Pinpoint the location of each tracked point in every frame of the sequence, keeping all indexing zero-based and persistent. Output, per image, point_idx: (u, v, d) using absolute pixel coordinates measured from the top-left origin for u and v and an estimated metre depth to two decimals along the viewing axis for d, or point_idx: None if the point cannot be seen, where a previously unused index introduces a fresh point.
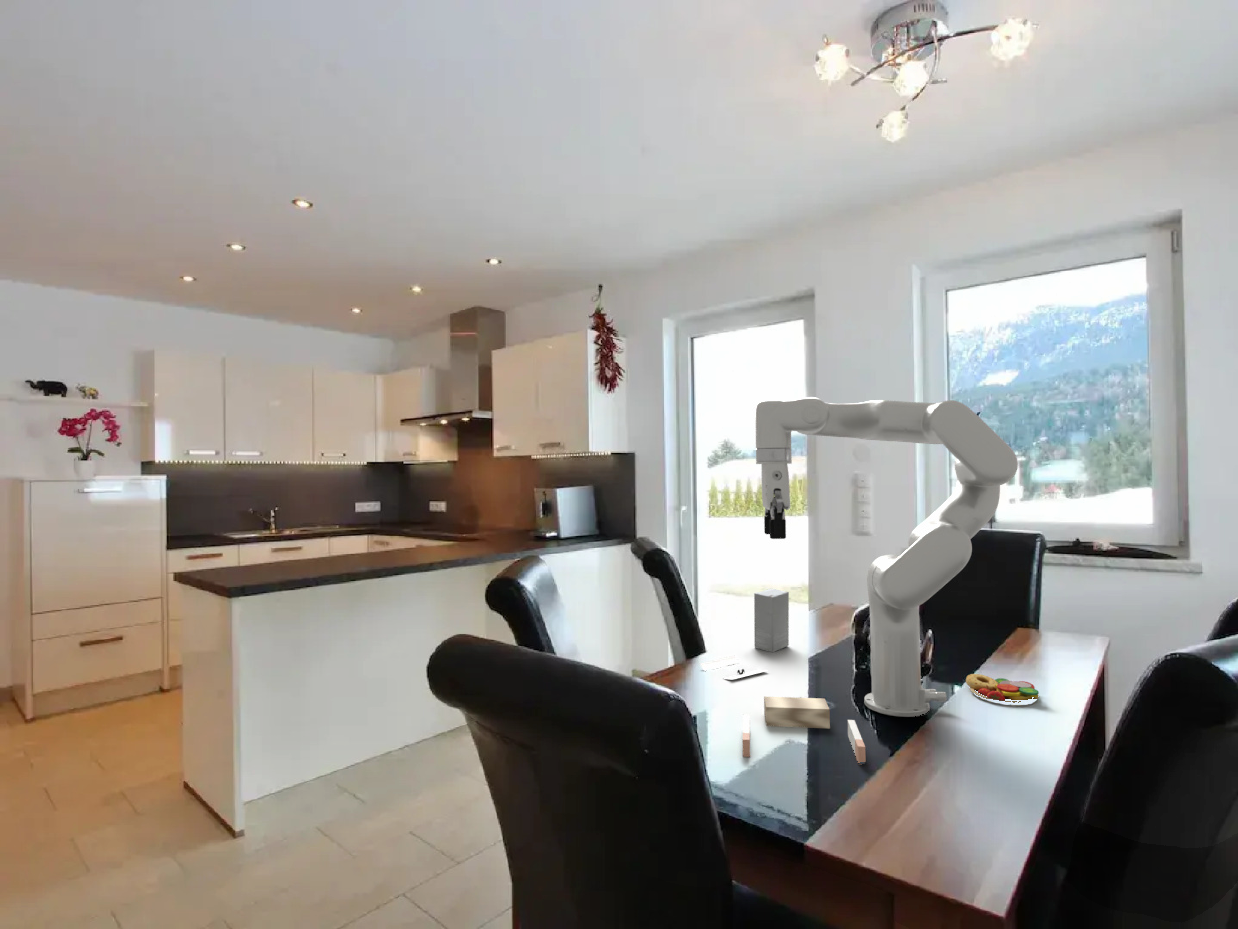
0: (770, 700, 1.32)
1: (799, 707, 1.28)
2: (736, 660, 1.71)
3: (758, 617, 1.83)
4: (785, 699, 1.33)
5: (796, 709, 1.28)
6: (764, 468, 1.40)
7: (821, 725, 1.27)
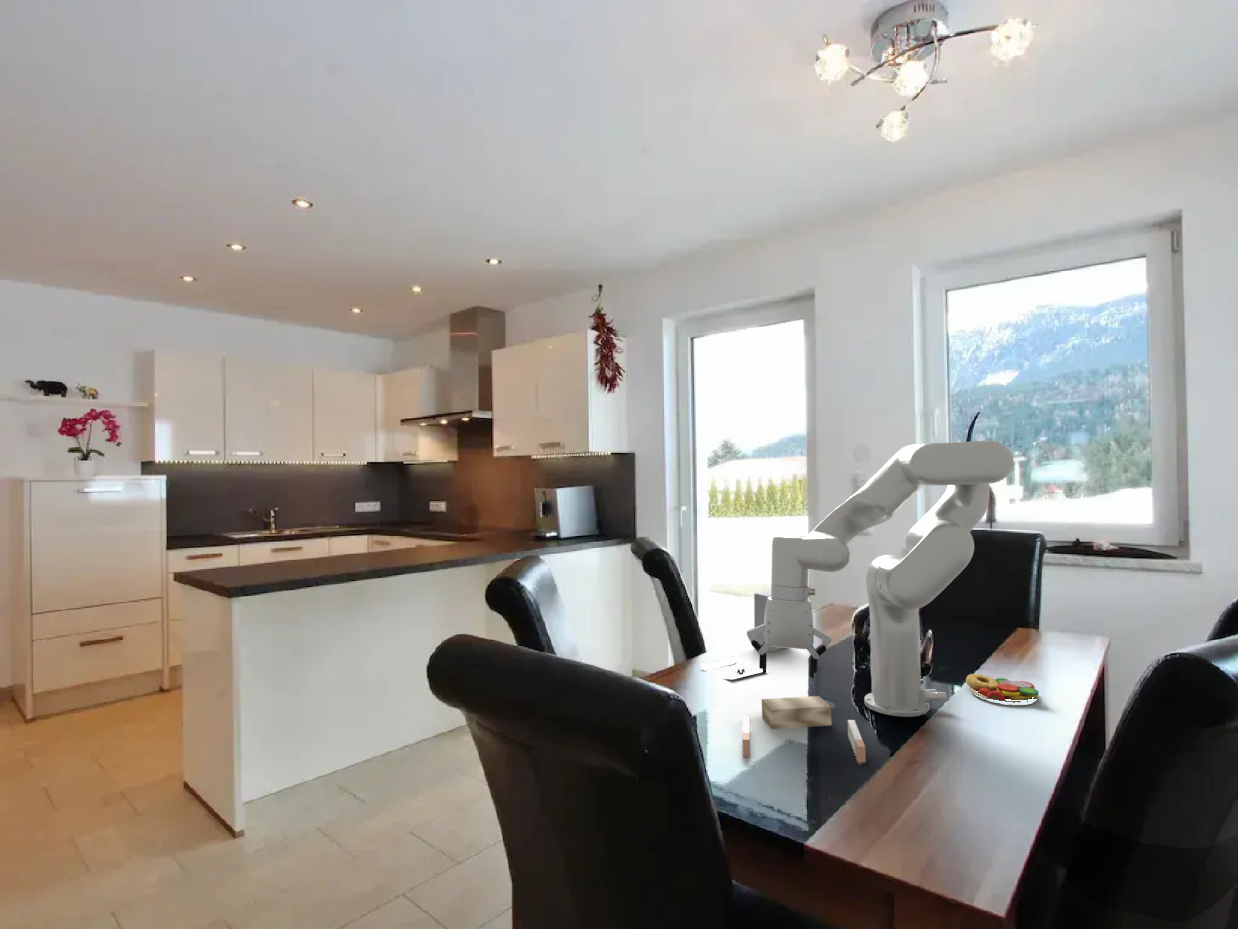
0: (770, 702, 1.31)
1: (802, 707, 1.28)
2: (736, 660, 1.71)
3: (758, 617, 1.83)
4: (783, 700, 1.32)
5: (800, 709, 1.28)
6: (802, 607, 1.36)
7: (823, 723, 1.28)
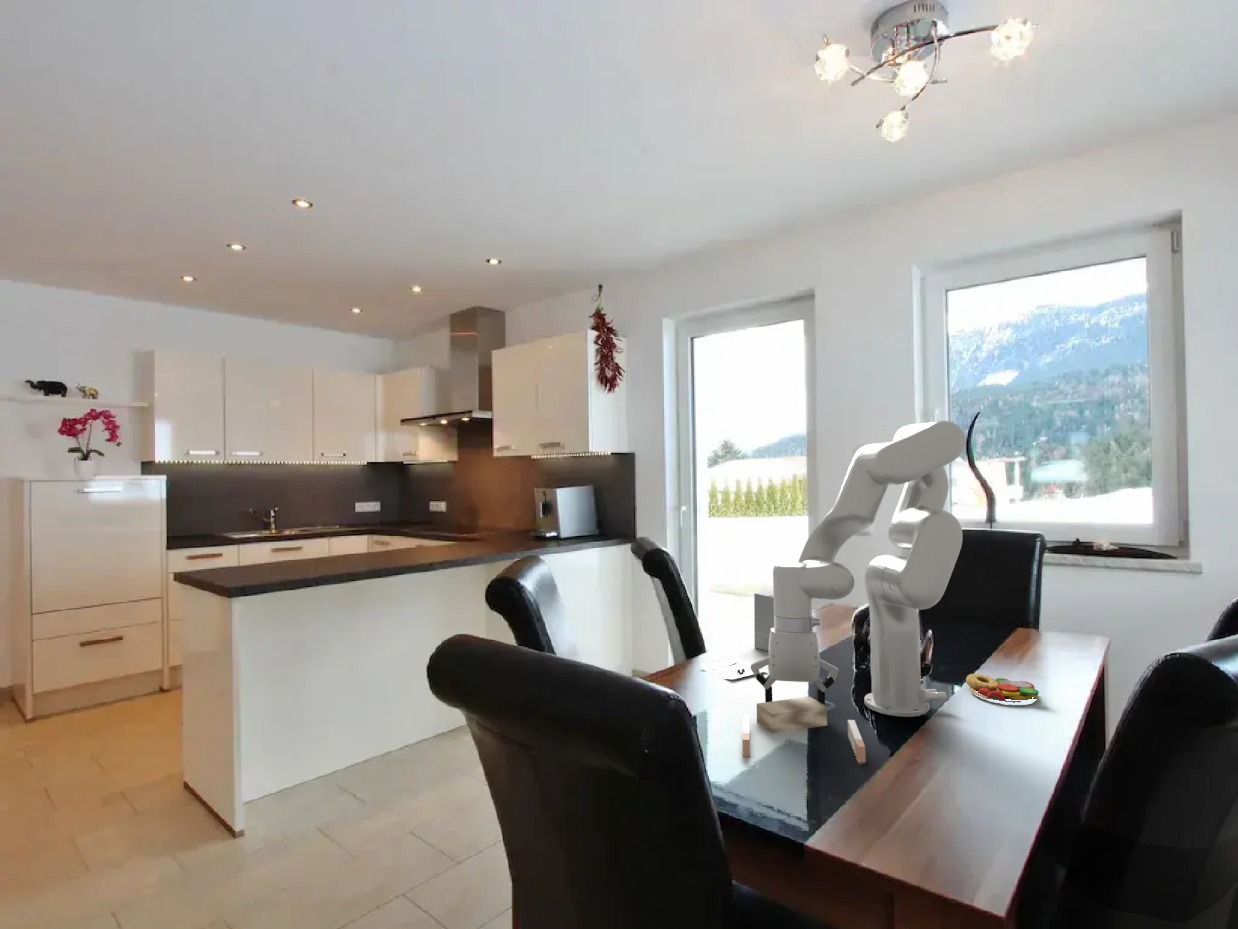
0: (766, 706, 1.29)
1: (799, 709, 1.27)
2: (736, 660, 1.71)
3: (758, 617, 1.83)
4: (778, 703, 1.31)
5: (798, 711, 1.27)
6: (807, 639, 1.31)
7: (820, 723, 1.28)
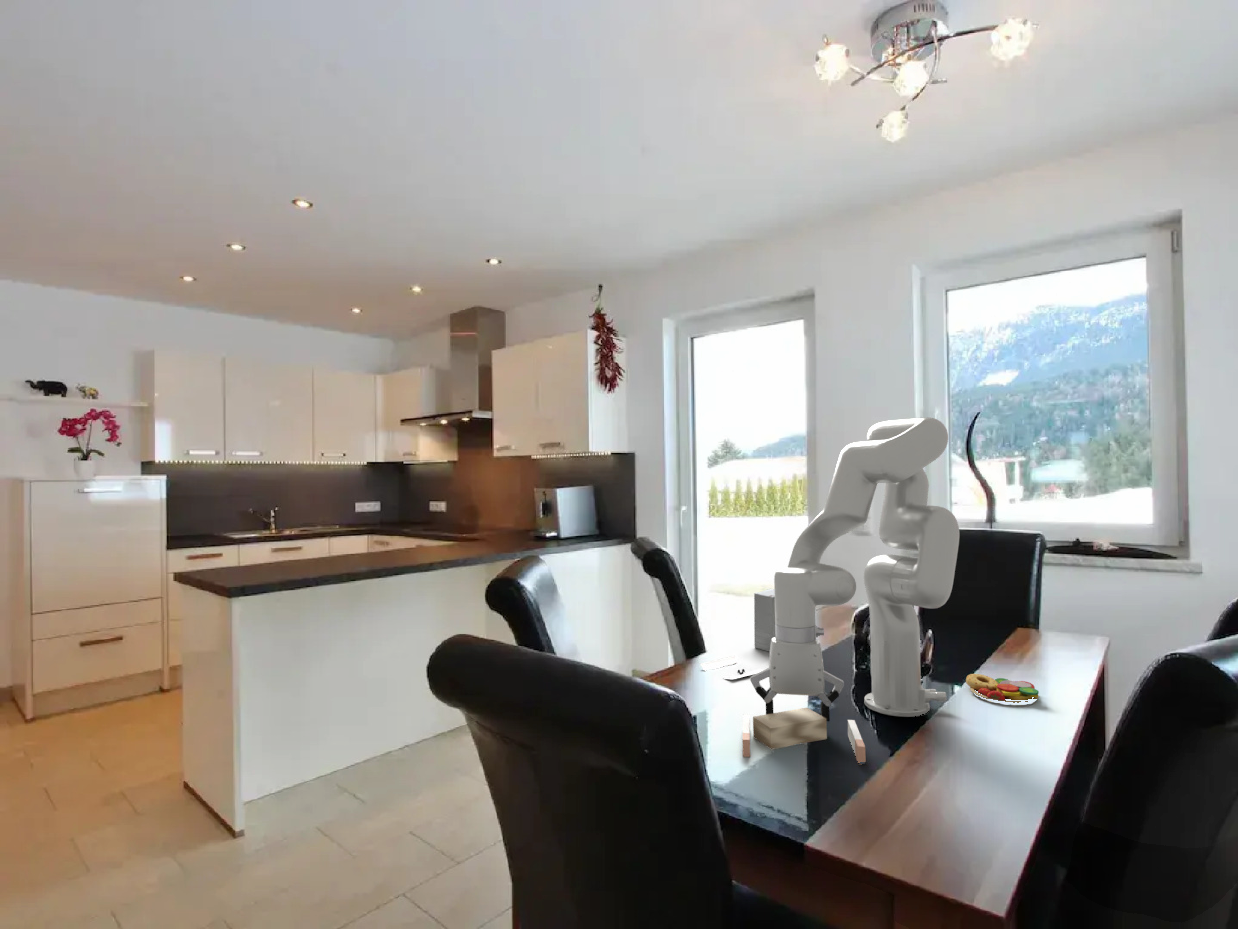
0: (763, 719, 1.22)
1: (799, 721, 1.21)
2: (736, 660, 1.71)
3: (758, 617, 1.83)
4: (776, 715, 1.24)
5: (798, 725, 1.20)
6: (810, 649, 1.23)
7: (819, 736, 1.21)
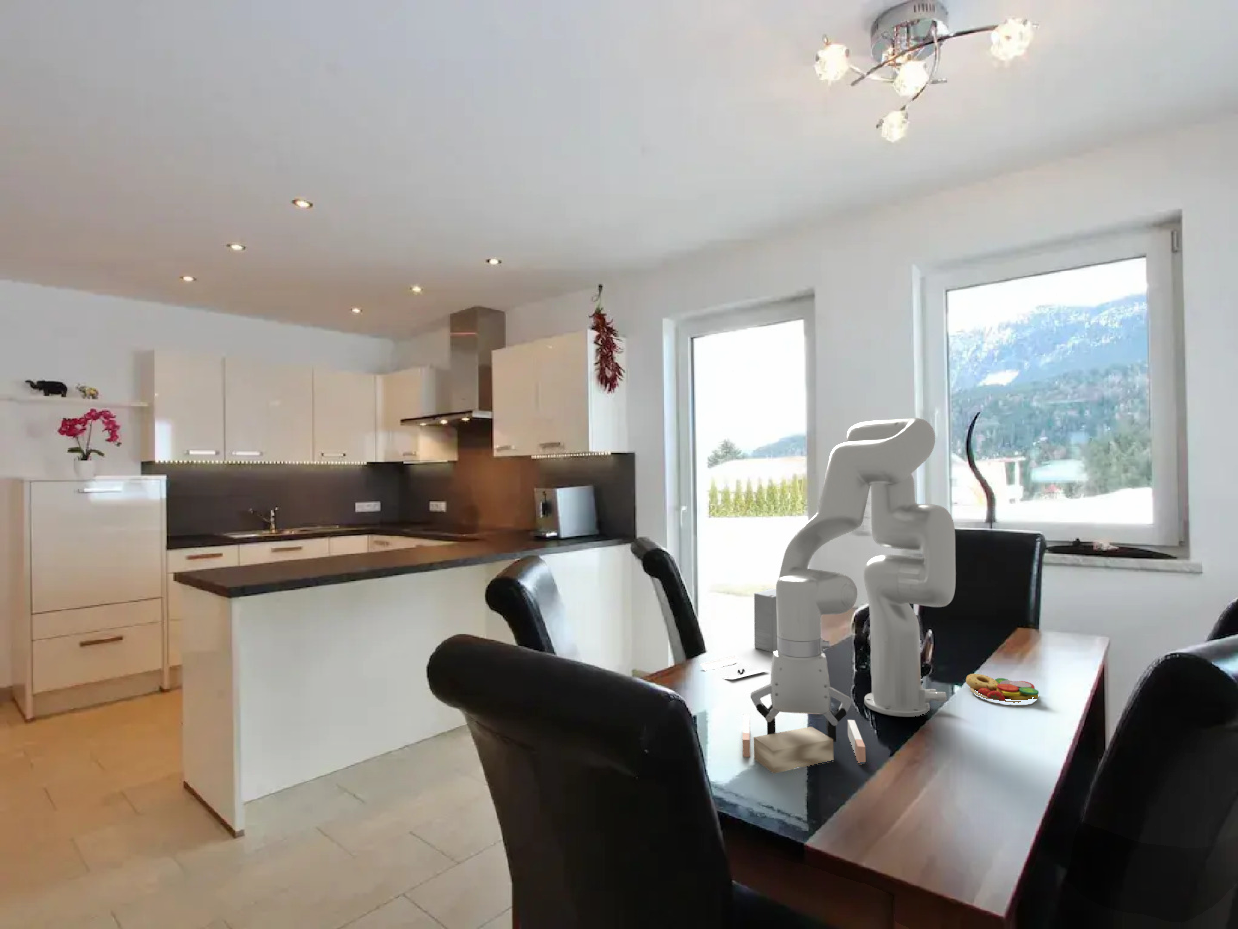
0: (765, 740, 1.13)
1: (803, 743, 1.11)
2: (736, 660, 1.71)
3: (758, 617, 1.83)
4: (778, 736, 1.14)
5: (802, 746, 1.11)
6: (815, 664, 1.14)
7: (825, 759, 1.12)
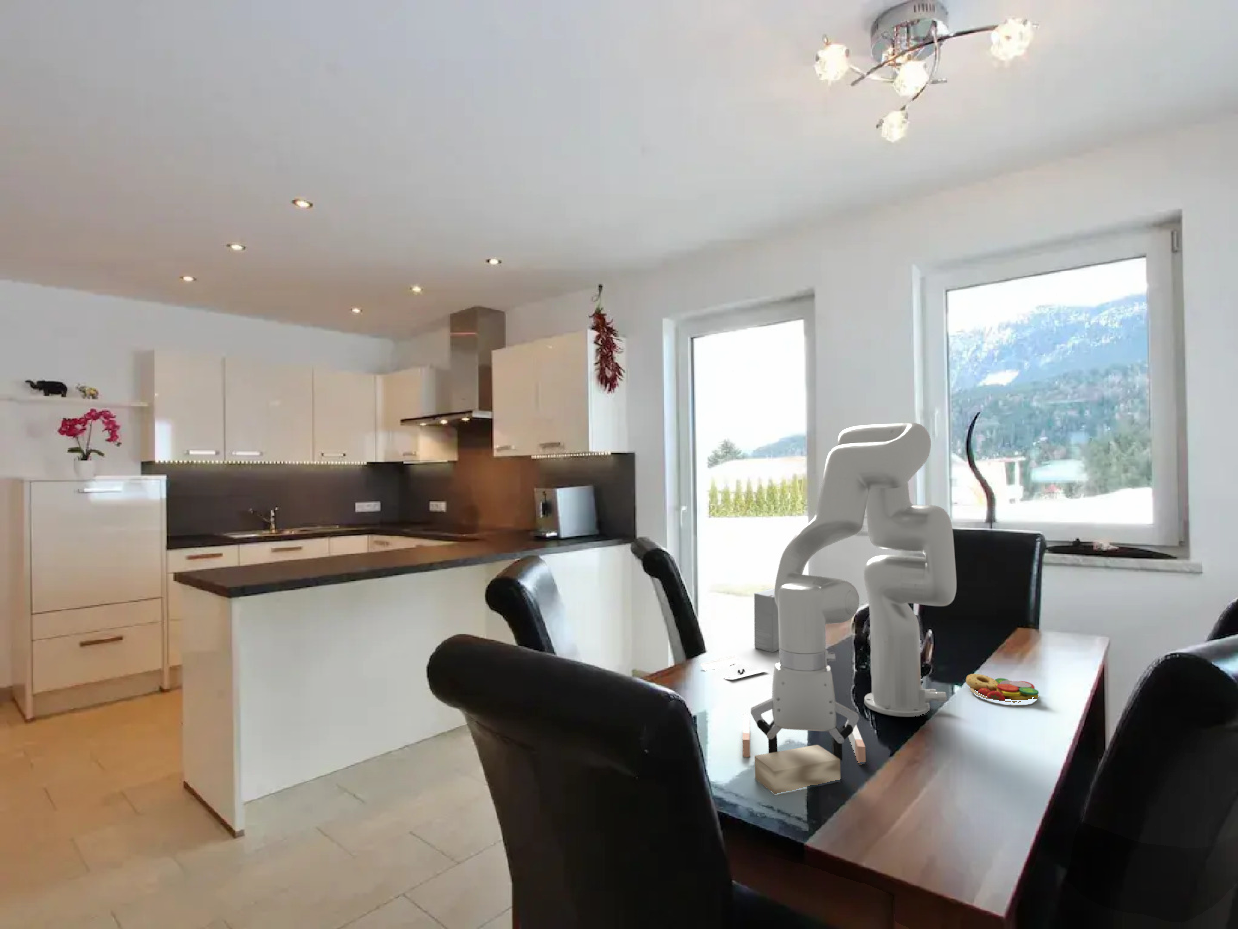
0: (766, 759, 1.06)
1: (807, 763, 1.04)
2: (736, 660, 1.71)
3: (758, 617, 1.83)
4: (781, 755, 1.07)
5: (806, 767, 1.03)
6: (820, 678, 1.06)
7: (832, 780, 1.05)
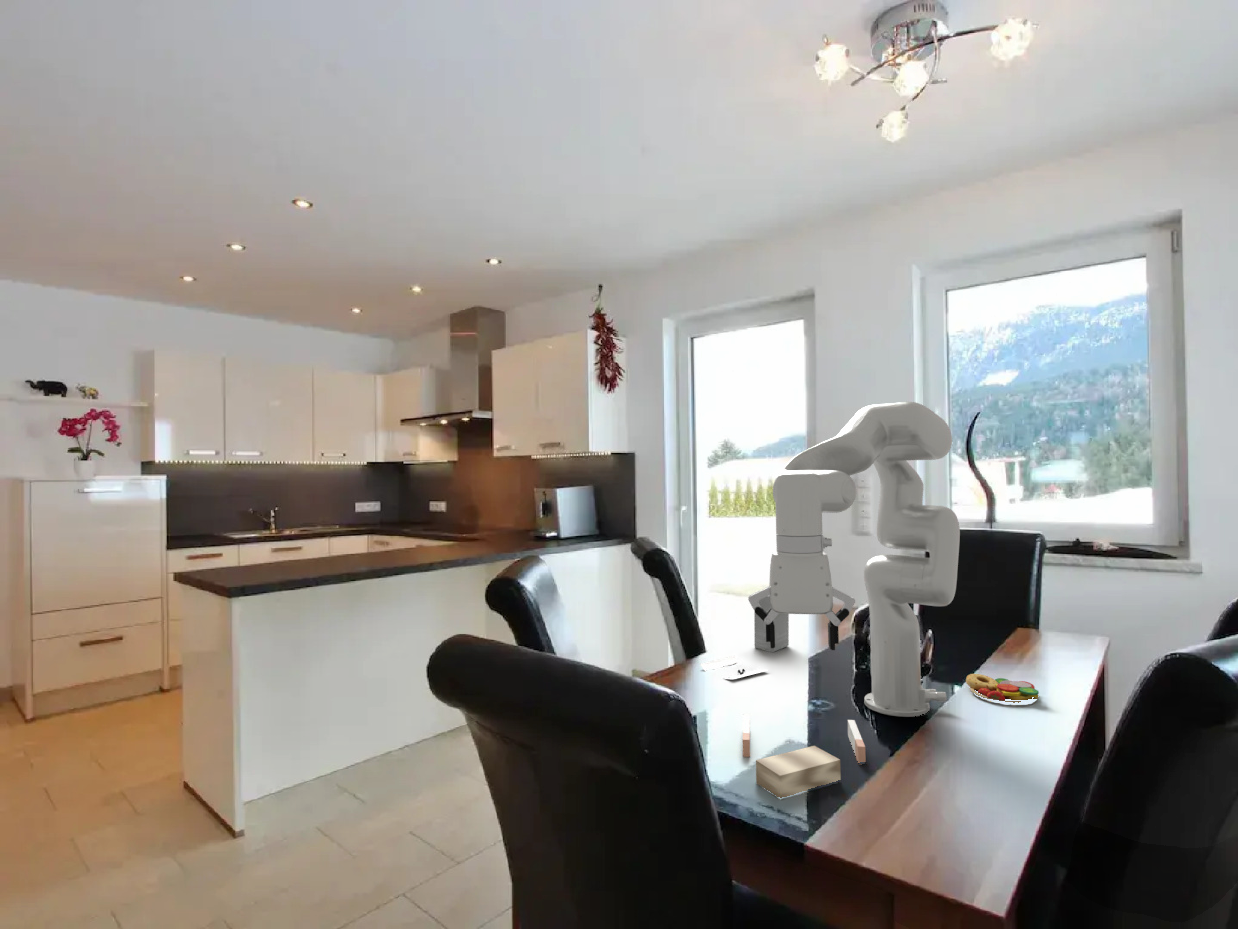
0: (769, 763, 1.04)
1: (810, 765, 1.03)
2: (736, 660, 1.71)
3: (758, 617, 1.83)
4: (782, 758, 1.06)
5: (809, 769, 1.02)
6: (817, 561, 1.08)
7: (833, 781, 1.04)
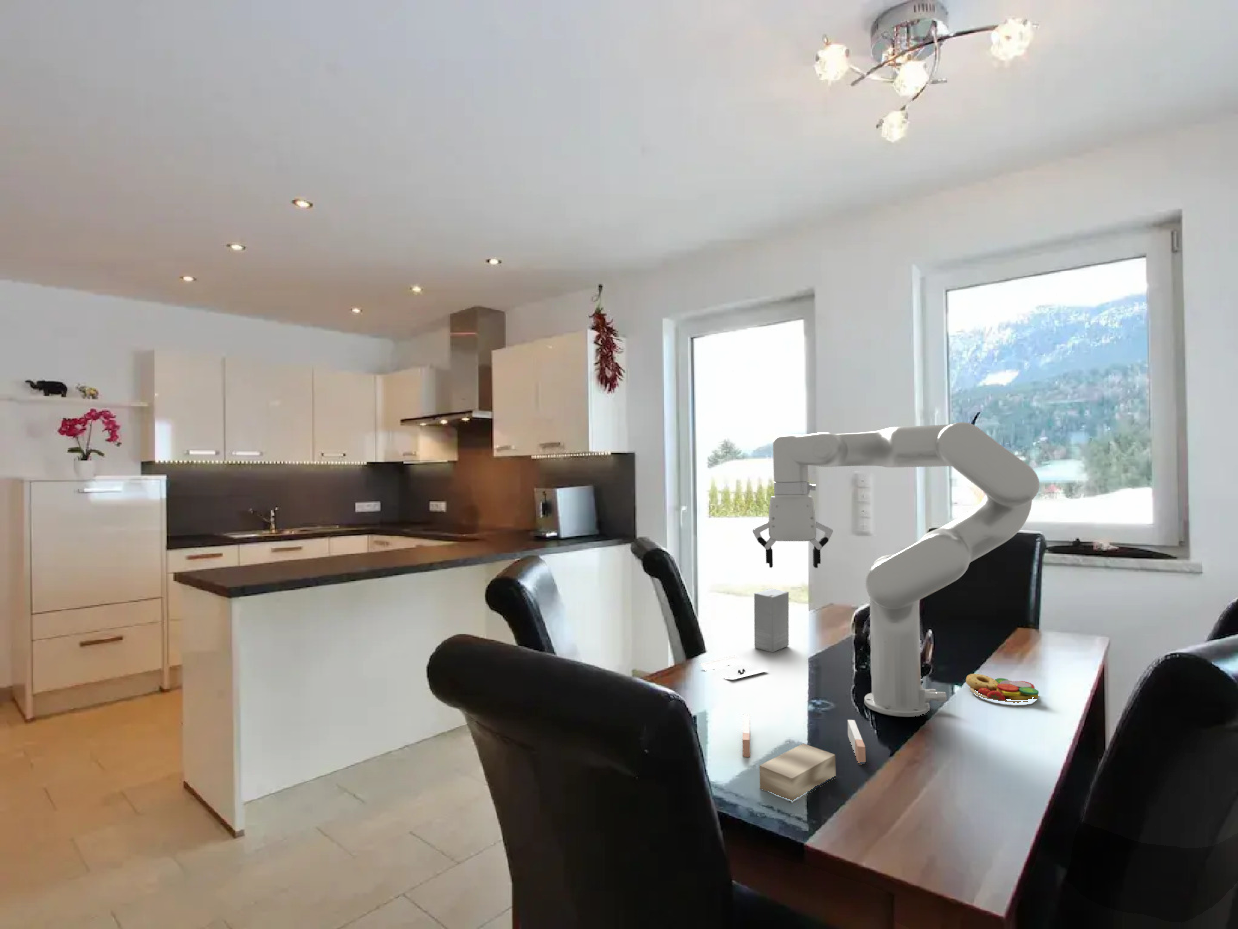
0: (773, 767, 1.03)
1: (812, 764, 1.03)
2: (736, 660, 1.71)
3: (758, 617, 1.83)
4: (782, 760, 1.05)
5: (813, 768, 1.03)
6: (804, 501, 1.44)
7: (830, 777, 1.06)
